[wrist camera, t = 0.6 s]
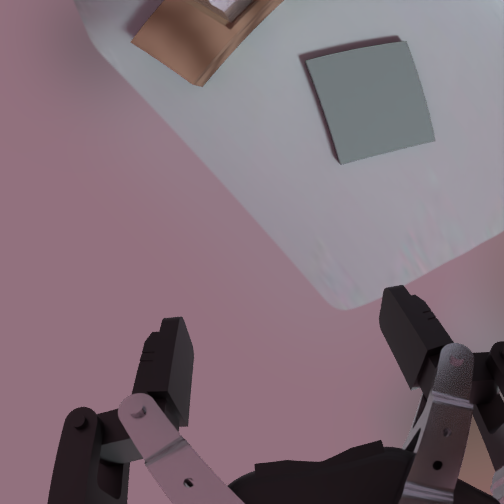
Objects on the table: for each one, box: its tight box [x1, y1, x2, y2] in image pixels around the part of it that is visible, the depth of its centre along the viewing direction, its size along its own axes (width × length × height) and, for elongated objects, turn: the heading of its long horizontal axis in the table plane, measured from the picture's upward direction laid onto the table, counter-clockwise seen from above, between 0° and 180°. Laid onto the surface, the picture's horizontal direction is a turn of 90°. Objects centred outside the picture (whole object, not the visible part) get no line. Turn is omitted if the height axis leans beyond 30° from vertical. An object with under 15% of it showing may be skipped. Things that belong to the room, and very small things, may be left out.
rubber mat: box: [305, 41, 435, 165], centre depth 29 cm, size 12×12×1 cm
